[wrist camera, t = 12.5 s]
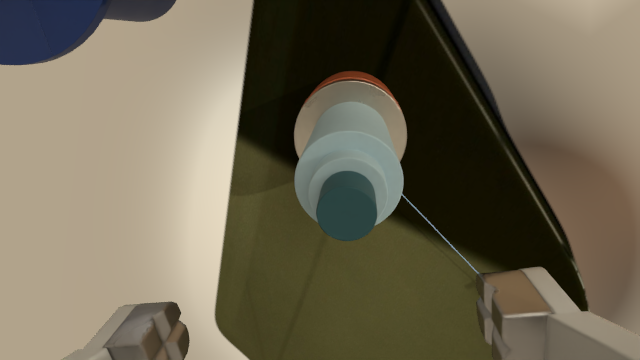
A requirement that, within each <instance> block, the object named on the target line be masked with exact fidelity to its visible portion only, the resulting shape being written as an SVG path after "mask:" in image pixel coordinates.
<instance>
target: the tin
mask: <svg viewBox="0 0 640 360" xmlns="http://www.w3.org/2000/svg"><path fill="white" fill-rule="evenodd" d="M344 102H358V103H362V104H365V105H368V106H370V107H371V108H373V109H374V110H375V111H377V112H378V113H379V114H380V116H381V117H382V118H383V120H384V122H385V124H386V126H387V129H388V132H389V134H390V137H391V140H392V143H393V145H394V148H395V151H396V154H397V156H398V159H399V162H400V161H401V159H402V157H403V154H404V151H405V147H406V142H407V128H406V122H405V119H404V116H403V114H402V111H401V108H400V106H399V104H398V103H397V101H396V100H395V98H394V97H393V95H392V94H391V92H390V91H389V89H388V88H387V87H386V86H385V85H384V84H383V83H382V82H381V81H380V80H378V79H377V78H375V77H374V76H372V75H370V74H367V73H364V72H360V71H344V72H340V73H337V74H334V75H332V76H330V77H329V78H327V79H325V80H324V81H323V82H321V83H320V84H319V85H318V86H317V87H316V89H315V90H314V91H313V92H312V93H311V95H310V96H309V97H308V98H307V100H306V101H305V103H304V104H303V106H302V108H301V110H300V112H299V115H298V117H297V120H296V123H295V129H294V142H295V148H296V152H297V155H298V157H299V159H300V157H301V155H302V153H303V151H304V149H305V147H306V144H307V142H308V140H309V138H310V136H311V134H312V132H313V130H314V127H315V125H316V123H317V121H318V120H319V118H320V117H321V116H322V114H323V113H324V112H325V111H326V110H328V109H329V108H331V107H333V106H334V105H337V104H339V103H344Z"/></svg>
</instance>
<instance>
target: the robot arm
mask: <svg viewBox="0 0 640 360" xmlns="http://www.w3.org/2000/svg"><path fill="white" fill-rule="evenodd" d="M476 289H477V291H478V293H479V295H480V298H479V299H478V300H477V302H476V306H477V316H478V321H479V326H480V329H481V332H482V334H483V337H484V339H485V341H486V342H488V343H489V344H490V345H492V357H493V359H494V360H640V335H638V334H636V333H633V332H631V331H629V330H627V329H625V328H623V327H621V326H619V325H616V324H614V323H612V322H610V321H608V320H606V319H603V318H602V317H599V316H597V315H595V314H593V313H591V312H589V311H586V312H581V311H580V310H579V308H578V307H577V306H576V305H575V304H574V303H573V301H572V300H571V299H570V298H569V297H568V296H567V294H566V293H565V292H564V291H563V290H562V289H561V287H560V286H559V285H558V284H557V283H556V282H555V280H554V279H553V278H552V277H551V276H550V275H549V273H548V272H547V271H546V270H545V269H544V268H542V267H534V268H525V269H519V270H513V271H503V272H492V273H482V274H477V276H476ZM180 315H181V312H180V309H179V307H178V305H177V303H174V302H161V303H145V304H134V305H124V306H122V307H119V308H118V310H117V311H116V312H115V313H114V314H113V315H112V316H111V318H110V319H109V320H108V321H107V322H106V323H105V324H104V326H103V327H102V328H101V329H100V330H99V331H98V333H97V334H96V335H95V336H94V337H93V338H92V339H91V341H90V342H89V343H88V344H87V345H86V346H85V347H84V349H82V350H77V351H75V352H73V353H72V354H70V355H68V356H67V357H65V358H64V359H62V360H184V358H185V356H186V354H187V352H188V347H189V333H188V330H187V327H186V325H185V324H183V323H182V322H181V321H179V317H180Z"/></svg>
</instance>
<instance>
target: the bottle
mask: <svg viewBox="0 0 640 360" xmlns="http://www.w3.org/2000/svg"><path fill="white" fill-rule="evenodd" d="M294 179H295V191H296V194H297V197H298V200H299V202H300V204H301V205H302V207H303V209H304V210H305V211H306V212H307V214H308V215H310V216H311V217H312V218H313V219H314V220H315V221H317V222H318V223H319V225H320V227H321V228H322V230H323V231H324V232H325V233H326V234H328V235H329V236H331V237H332V238H335V239H338V240H342V241H353V240H357V239H360V238H362V237H364V236H365V235H367V234H368V233H369V232H370V231H371V230H372V229H373V227H374V226H375V225H377V224H379V223H380V222H382V221H383V220H384V219H386V218H387V217H388V216H389V215H390V214H391V213H392V212H393V210H394V209H395V208H396V206H397V204H398V202H399V200H400V198H401V194H402V191H403V172H402V168H401V165H400V162H399V159H398V156H397V154H396V151H395V148H394V145H393V143H392V140H391V137H390V134H389V132H388V129H387V126H386V124H385V122H384V120H383V118H382V117H381V116H380V114H379V113H378V112H377V111H375V110H374V109H373V108H371V107H370V106H368V105H365V104H362V103H358V102H344V103H339V104H337V105H334V106H333V107H331V108H329V109H328V110H326V111H325V112H324V113H323V114H322V116H321V117H320V118H319V120H318V121H317V123H316V125H315V127H314V130H313V132H312V134H311V136H310V138H309V140H308V142H307V144H306V147H305V149H304V151H303V153H302V155H301V157H300V159H299V162H298V164H297V167H296V170H295V177H294Z"/></svg>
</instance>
